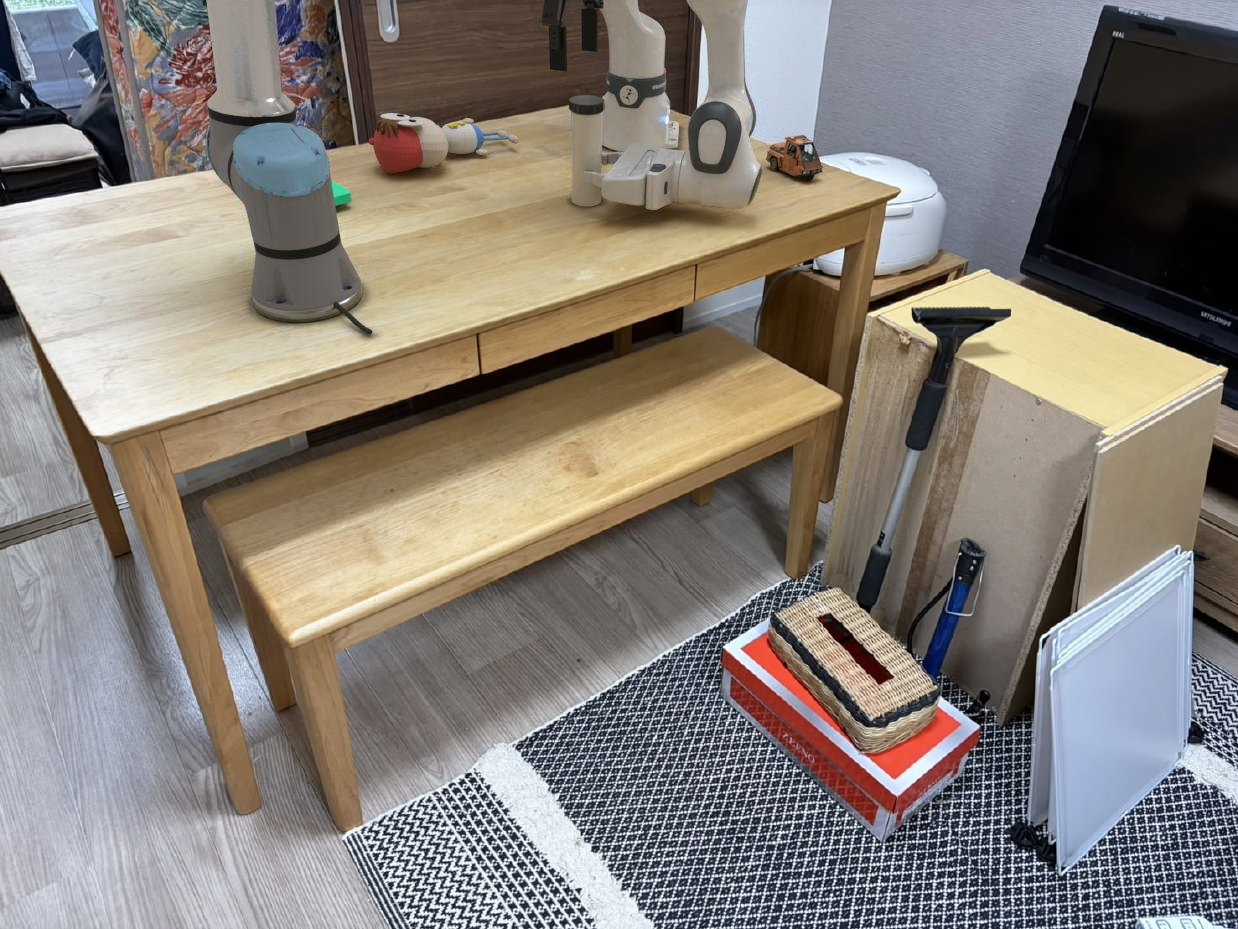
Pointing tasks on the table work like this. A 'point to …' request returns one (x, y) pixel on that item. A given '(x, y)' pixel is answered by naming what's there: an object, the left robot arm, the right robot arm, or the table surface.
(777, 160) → the toy car
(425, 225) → the table surface
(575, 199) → the jar
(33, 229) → the table surface
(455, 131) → the toy
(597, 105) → the lid
